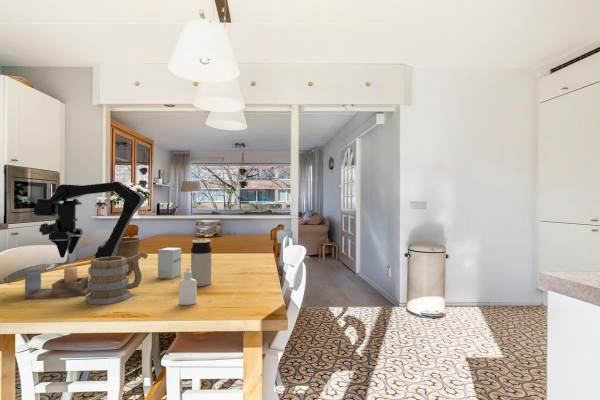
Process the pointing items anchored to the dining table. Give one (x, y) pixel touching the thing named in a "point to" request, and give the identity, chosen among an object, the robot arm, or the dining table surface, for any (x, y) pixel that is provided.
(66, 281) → the peg
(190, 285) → the eye dropper bottle
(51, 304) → the dining table surface
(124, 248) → the plant pot
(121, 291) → the tankard
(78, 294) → the socket block
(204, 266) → the travel mug
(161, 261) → the supplement box
